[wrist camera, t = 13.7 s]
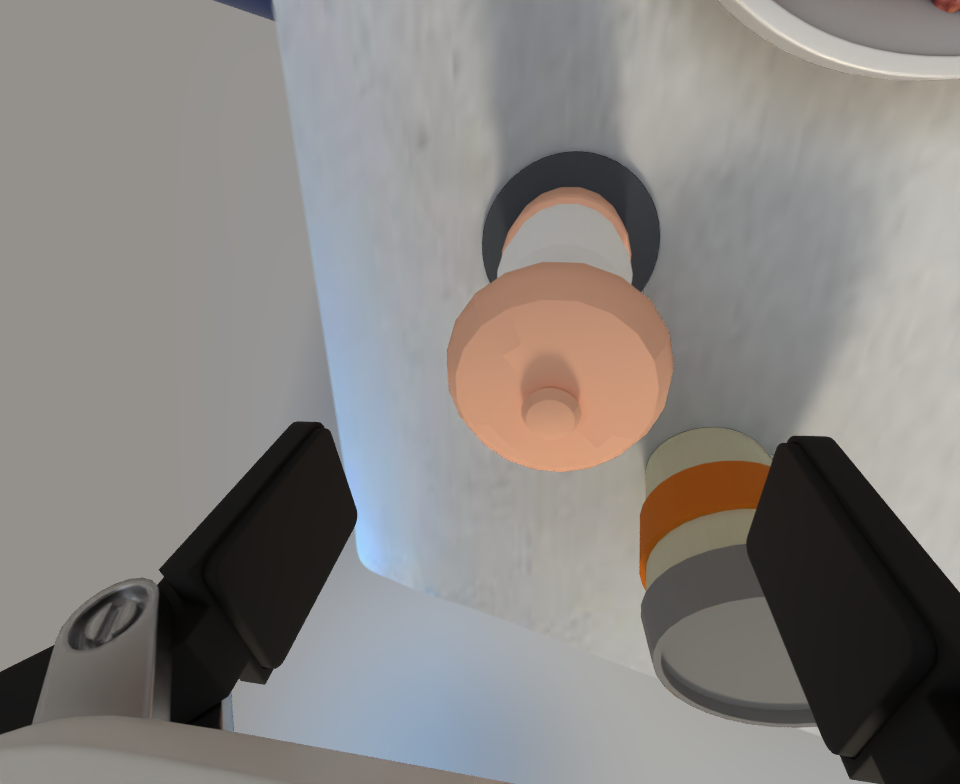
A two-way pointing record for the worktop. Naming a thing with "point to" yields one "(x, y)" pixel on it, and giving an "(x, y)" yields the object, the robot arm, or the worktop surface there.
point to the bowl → (862, 34)
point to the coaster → (587, 174)
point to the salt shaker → (561, 341)
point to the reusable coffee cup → (712, 582)
